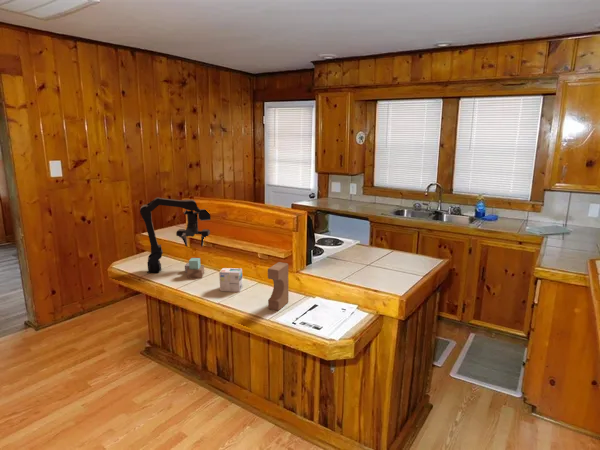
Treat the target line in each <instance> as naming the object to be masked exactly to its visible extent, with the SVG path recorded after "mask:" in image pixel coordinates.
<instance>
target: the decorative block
mask: <svg viewBox="0 0 600 450" xmlns="http://www.w3.org/2000/svg"><path fill="white" fill-rule="evenodd" d="M267 279H269V280H272V282H273V289H272V293H271V295H270V297H269V298H268V301H267V305H268V306H267V307H268V310H272V311H278V312H279V311H280V310H281V309H282V308H283V307H284V306H286V305H287V304H288V303H289V263H287V262H281V261H278V262H276V263H275V264H274V265H272V266H270V267H269V268H267Z"/></svg>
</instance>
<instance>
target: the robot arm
mask: <svg viewBox="0 0 600 450" xmlns="http://www.w3.org/2000/svg"><path fill="white" fill-rule="evenodd" d="M159 206H166V207H167V206H168V207H175V208H181V209H184V211H183V214H184V215H187V216H186V217H187V218H186V221H187V224H186V228H179V229H178V230H177V231H176V237H178V238H180V239H182V242H183V243H184V246H185V247H187V246H188V240H187V239H188V237H194V236H195V235H200V239H201V240H200V246H201V248H203V245H204V243H205V240H204V241H203V239H204V237H205V238H207V237H208V236H209V235H210V234H211V231H210V229H208V228H207V229H206V228H205V229H204V228H203V229H202V230H199V221H198V220H200V221H211V213H210V214H209V213H208V212H207V211H206V210H205V209H206V208H201V209H200V207H199V206H198V203H197V202H196V201H195V199H193V198H192V199H180V200H179V199H173V198H163V197H155V198H154V199H152V200H151V201H150V202H148V203H146V204H143V205H141V206H140V210H139V213H140V216H141V218H142V219H143V221H144V223H145V228H146V232H147V235H148V239H149V243H150V254H149V255H148V257H147V262H146V264H147V271H146V273H147V274H159V273H160V271H162V270H163V269H162V263H161V261H160V259H161V258H162V257H163V253H164V251H163V249H162V244H159V243H158V239H157V236H156V232H155V229H154V223H153V219H152V212H153V211H154V210H155V209H156V208H157V207H159ZM206 236H207V237H206Z"/></svg>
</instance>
